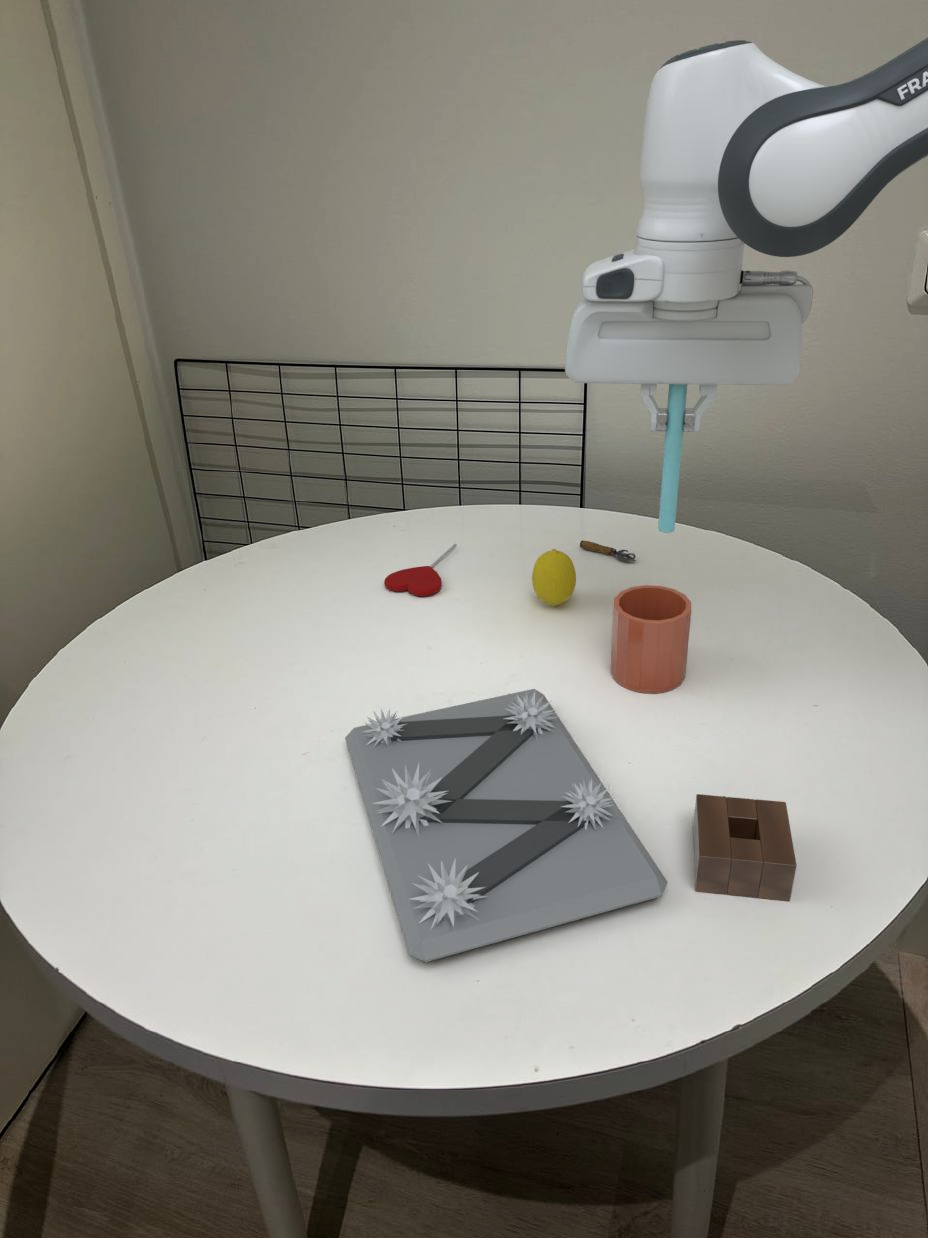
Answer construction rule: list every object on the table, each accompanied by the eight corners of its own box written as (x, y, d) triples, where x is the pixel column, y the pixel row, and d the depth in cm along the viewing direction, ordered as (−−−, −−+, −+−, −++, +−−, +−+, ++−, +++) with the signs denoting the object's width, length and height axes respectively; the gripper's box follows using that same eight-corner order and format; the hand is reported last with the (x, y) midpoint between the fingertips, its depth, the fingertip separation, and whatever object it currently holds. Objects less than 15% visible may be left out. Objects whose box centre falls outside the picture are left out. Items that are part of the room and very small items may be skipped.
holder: (779, 836, 78) (785, 801, 76) (789, 901, 72) (796, 866, 70) (692, 828, 79) (696, 793, 77) (695, 891, 73) (699, 856, 71)
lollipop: (431, 543, 132) (378, 588, 121) (430, 537, 132) (377, 582, 120) (480, 552, 129) (431, 599, 117) (480, 546, 128) (430, 593, 117)
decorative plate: (672, 904, 72) (678, 839, 69) (413, 977, 67) (405, 912, 64) (540, 700, 97) (539, 644, 94) (345, 743, 92) (336, 686, 89)
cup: (684, 655, 103) (690, 586, 99) (685, 696, 96) (692, 624, 92) (612, 650, 105) (615, 583, 100) (608, 691, 98) (611, 620, 93)
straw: (674, 526, 88) (687, 374, 81) (674, 533, 87) (688, 379, 79) (658, 525, 88) (669, 374, 81) (658, 532, 87) (669, 379, 79)
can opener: (578, 548, 128) (578, 541, 128) (588, 542, 130) (588, 535, 129) (632, 565, 123) (633, 558, 122) (642, 559, 124) (642, 552, 124)
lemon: (523, 605, 115) (522, 550, 111) (554, 591, 118) (554, 536, 114) (554, 621, 111) (554, 564, 107) (584, 605, 114) (585, 549, 110)
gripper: (811, 263, 76) (787, 421, 83) (570, 266, 80) (567, 417, 87) (822, 277, 71) (796, 444, 78) (564, 279, 75) (562, 438, 82)
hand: (674, 429), depth 83 cm, fingers closed on straw, 1 cm apart
